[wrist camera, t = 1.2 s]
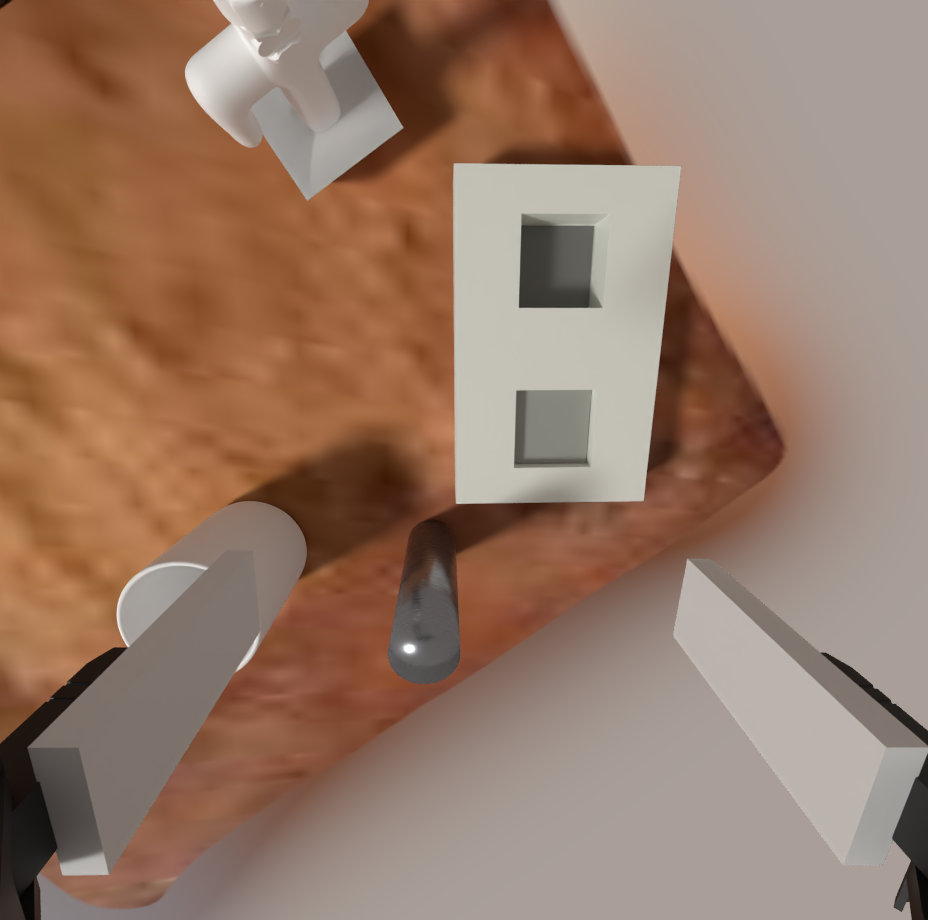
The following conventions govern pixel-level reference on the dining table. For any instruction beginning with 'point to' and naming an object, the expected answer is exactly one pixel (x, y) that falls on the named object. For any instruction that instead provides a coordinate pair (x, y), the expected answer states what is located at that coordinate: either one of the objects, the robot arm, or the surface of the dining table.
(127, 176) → the dining table surface
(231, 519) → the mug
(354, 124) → the figurine
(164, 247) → the dining table surface
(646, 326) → the bore block
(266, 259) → the dining table surface
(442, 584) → the steel pin
